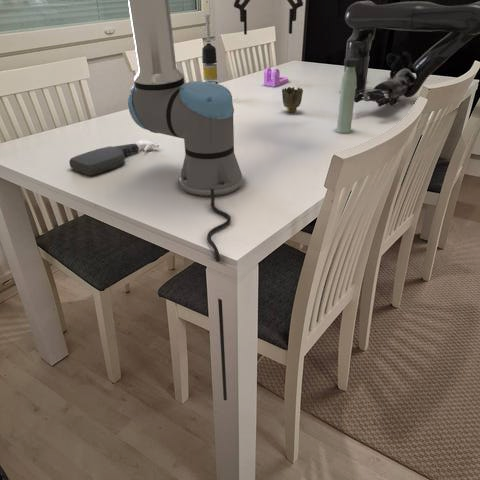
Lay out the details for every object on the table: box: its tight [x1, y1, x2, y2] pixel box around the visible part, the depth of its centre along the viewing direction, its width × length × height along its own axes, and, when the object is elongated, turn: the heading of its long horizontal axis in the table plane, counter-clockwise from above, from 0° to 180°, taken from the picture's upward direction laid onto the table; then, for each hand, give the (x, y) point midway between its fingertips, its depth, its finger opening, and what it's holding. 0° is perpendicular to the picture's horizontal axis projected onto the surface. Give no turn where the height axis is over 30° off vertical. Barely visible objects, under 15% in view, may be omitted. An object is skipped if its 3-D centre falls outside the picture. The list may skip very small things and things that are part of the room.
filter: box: [201, 14, 219, 84], centre depth 171 cm, size 6×6×30 cm
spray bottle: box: [68, 139, 160, 177], centre depth 124 cm, size 3×11×24 cm
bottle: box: [336, 67, 357, 134], centre depth 137 cm, size 4×4×21 cm
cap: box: [343, 57, 358, 68], centre depth 131 cm, size 4×4×2 cm
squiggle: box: [385, 51, 414, 79], centre depth 198 cm, size 11×10×15 cm
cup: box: [281, 86, 304, 114], centre depth 159 cm, size 8×7×8 cm
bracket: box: [263, 67, 289, 88], centre depth 197 cm, size 13×6×7 cm, turn 143°
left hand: (267, 33), depth 135 cm, fingers open, 13 cm apart
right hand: (367, 101), depth 147 cm, fingers open, 8 cm apart
